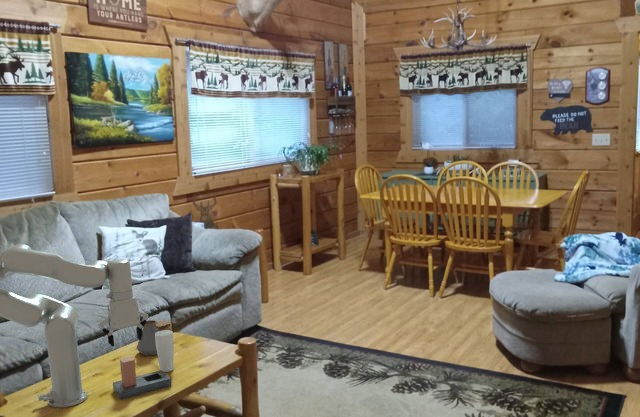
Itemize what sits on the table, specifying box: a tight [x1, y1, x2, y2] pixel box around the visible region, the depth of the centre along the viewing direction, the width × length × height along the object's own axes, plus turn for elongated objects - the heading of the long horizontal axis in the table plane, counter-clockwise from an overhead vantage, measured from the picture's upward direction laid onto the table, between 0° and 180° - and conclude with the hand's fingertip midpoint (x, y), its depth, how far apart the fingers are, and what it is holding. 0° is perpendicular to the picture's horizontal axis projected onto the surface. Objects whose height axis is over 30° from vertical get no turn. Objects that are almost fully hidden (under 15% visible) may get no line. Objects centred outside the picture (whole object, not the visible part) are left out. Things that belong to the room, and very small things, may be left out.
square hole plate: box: [112, 369, 172, 401], centre depth 225 cm, size 18×10×3 cm, turn 123°
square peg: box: [119, 356, 137, 387], centre depth 221 cm, size 4×4×9 cm
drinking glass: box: [155, 329, 175, 373], centre depth 240 cm, size 7×7×15 cm
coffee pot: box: [136, 319, 171, 356], centre depth 257 cm, size 21×12×15 cm, turn 48°
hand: (125, 342), depth 220 cm, fingers open, 9 cm apart
